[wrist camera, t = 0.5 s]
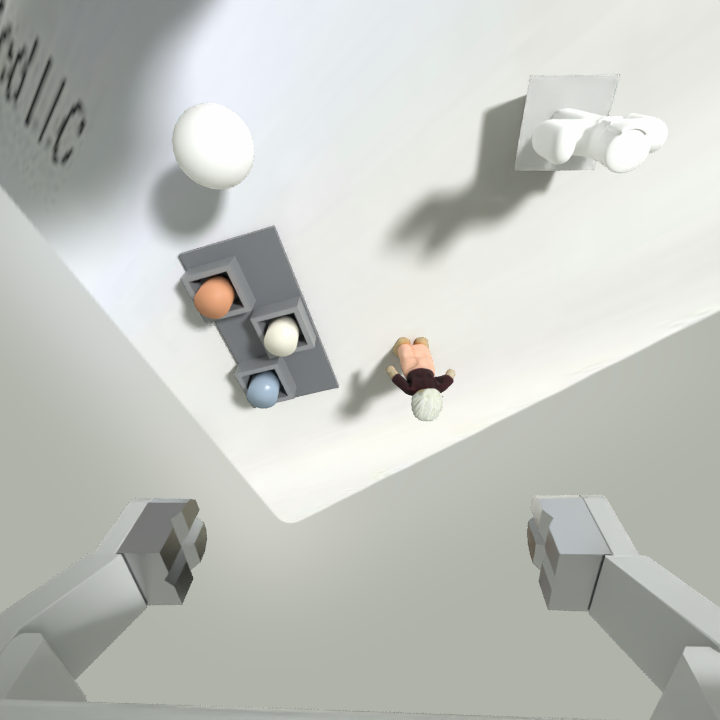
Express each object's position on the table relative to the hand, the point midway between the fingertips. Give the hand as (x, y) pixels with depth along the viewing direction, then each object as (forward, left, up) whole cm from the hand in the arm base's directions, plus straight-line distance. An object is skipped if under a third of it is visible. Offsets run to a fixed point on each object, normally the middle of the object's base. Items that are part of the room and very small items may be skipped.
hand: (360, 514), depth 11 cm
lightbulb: (-6, -10, -40) cm, 41 cm away
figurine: (+1, +18, -40) cm, 43 cm away
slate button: (+20, -18, -37) cm, 46 cm away
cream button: (+14, -13, -37) cm, 42 cm away
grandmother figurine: (+22, +1, -40) cm, 45 cm away
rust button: (+7, -18, -37) cm, 42 cm away
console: (+14, -16, -39) cm, 44 cm away
